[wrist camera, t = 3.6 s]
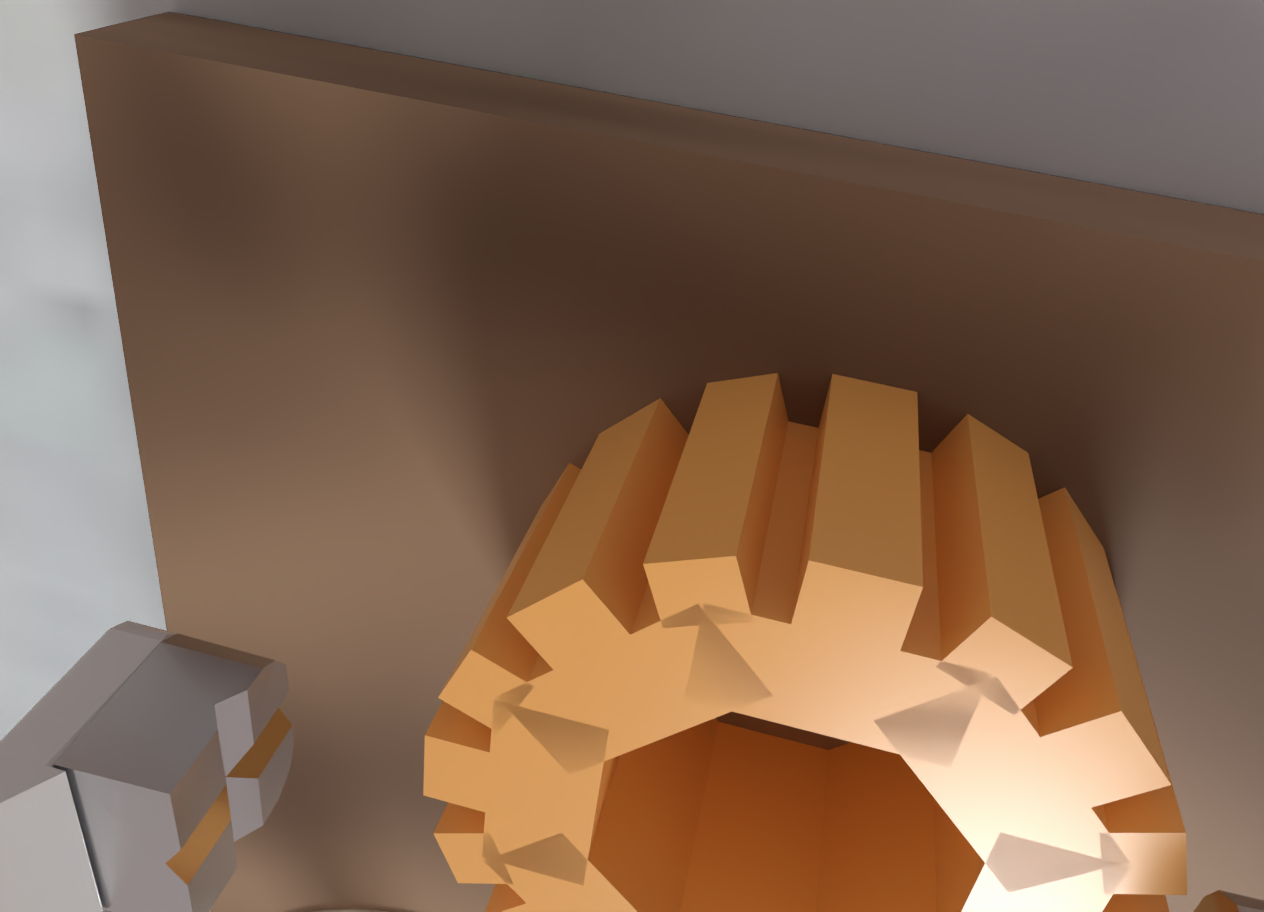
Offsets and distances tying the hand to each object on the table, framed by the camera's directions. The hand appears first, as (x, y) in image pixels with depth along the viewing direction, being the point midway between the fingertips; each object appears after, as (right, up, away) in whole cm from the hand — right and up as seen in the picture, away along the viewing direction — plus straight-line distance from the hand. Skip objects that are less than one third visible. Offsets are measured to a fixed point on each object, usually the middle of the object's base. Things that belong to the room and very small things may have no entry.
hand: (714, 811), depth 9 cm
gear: (+1, +1, +2) cm, 3 cm away
